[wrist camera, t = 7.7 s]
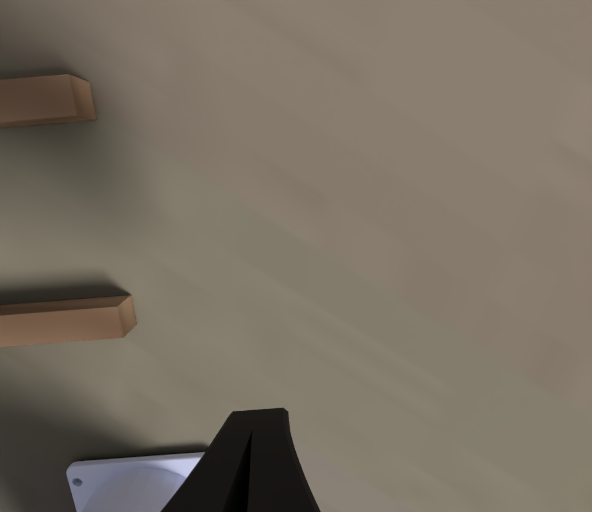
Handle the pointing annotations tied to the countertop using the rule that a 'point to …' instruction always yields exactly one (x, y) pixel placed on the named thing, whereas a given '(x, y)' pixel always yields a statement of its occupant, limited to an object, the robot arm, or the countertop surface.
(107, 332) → the gauge rails
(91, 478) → the robot arm
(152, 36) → the countertop surface
